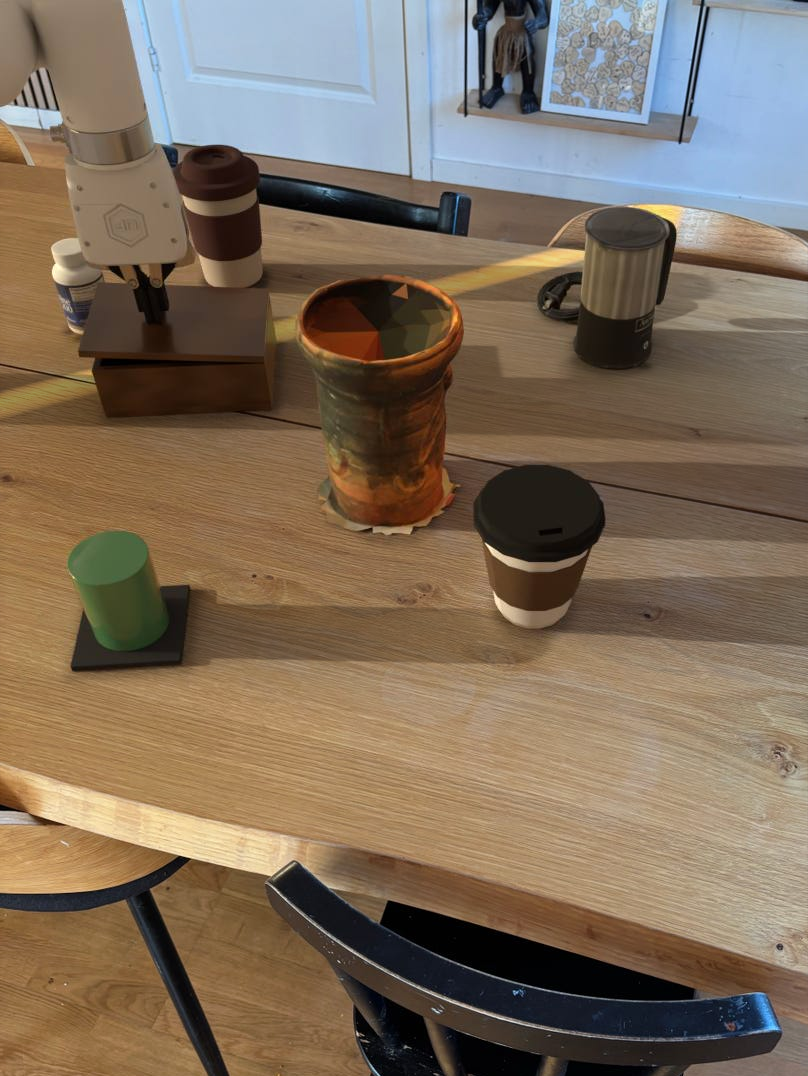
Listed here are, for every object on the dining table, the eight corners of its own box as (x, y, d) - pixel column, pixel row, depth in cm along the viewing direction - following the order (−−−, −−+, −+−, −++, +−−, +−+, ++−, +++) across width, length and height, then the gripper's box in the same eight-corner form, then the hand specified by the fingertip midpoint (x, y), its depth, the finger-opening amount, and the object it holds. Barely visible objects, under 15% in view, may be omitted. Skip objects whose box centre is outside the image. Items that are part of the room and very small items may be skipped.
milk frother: (638, 378, 115) (657, 254, 104) (508, 347, 118) (513, 224, 107) (670, 316, 124) (691, 196, 113) (548, 290, 127) (557, 170, 116)
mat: (72, 671, 85) (69, 666, 85) (88, 594, 91) (87, 590, 90) (181, 664, 86) (179, 659, 85) (190, 588, 92) (189, 584, 91)
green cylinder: (88, 654, 85) (60, 587, 80) (99, 599, 90) (73, 532, 84) (165, 649, 86) (143, 582, 80) (173, 595, 90) (152, 528, 84)
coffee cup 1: (221, 305, 124) (197, 182, 112) (179, 274, 129) (153, 153, 117) (289, 279, 128) (273, 158, 117) (246, 249, 133) (227, 130, 122)
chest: (105, 417, 108) (91, 370, 104) (122, 347, 117) (110, 301, 113) (272, 410, 110) (264, 363, 105) (276, 341, 119) (269, 295, 114)
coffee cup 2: (608, 640, 88) (624, 538, 79) (485, 658, 87) (488, 556, 78) (574, 554, 95) (586, 452, 86) (460, 570, 94) (460, 468, 85)
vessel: (436, 558, 95) (431, 374, 80) (294, 526, 97) (264, 343, 82) (480, 465, 104) (484, 285, 89) (350, 439, 107) (333, 259, 92)
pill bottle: (66, 317, 121) (41, 239, 114) (111, 308, 123) (89, 231, 116) (72, 340, 118) (47, 261, 111) (119, 331, 120) (97, 252, 112)
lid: (79, 357, 103) (77, 350, 102) (99, 288, 112) (98, 281, 111) (264, 363, 105) (263, 356, 105) (269, 295, 114) (268, 288, 114)
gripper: (19, 157, 91) (78, 339, 105) (189, 152, 92) (225, 332, 106) (35, 123, 96) (89, 301, 110) (196, 119, 97) (230, 295, 111)
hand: (156, 316), depth 108 cm, fingers closed
